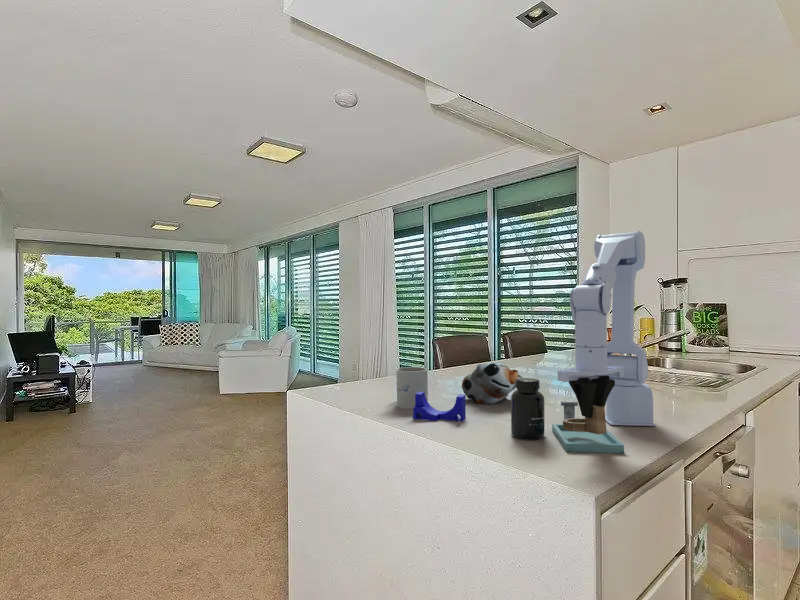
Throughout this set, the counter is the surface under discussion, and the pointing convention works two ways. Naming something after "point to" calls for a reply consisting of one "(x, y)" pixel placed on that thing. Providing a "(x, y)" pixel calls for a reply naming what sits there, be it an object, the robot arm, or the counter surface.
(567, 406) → the grey cylinder and bar
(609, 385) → the robot arm
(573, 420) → the ring
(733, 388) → the counter surface
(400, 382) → the mug
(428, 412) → the blue curved cradle
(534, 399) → the supplement bottle
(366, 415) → the counter surface
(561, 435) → the tray
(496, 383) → the lucky cat figurine
